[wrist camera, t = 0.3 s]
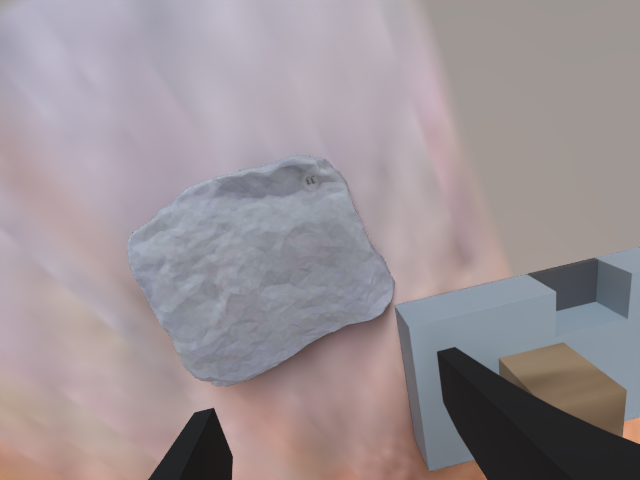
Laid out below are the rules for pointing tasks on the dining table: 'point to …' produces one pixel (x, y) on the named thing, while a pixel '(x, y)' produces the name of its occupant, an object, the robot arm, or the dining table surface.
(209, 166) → the dining table surface
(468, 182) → the dining table surface
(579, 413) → the walnut cube
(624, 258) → the board
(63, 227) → the dining table surface
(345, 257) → the stone block
